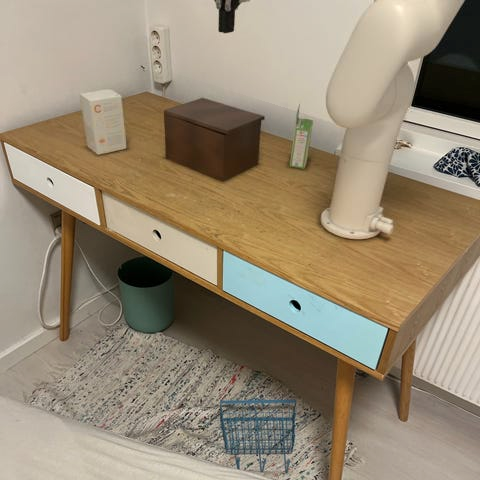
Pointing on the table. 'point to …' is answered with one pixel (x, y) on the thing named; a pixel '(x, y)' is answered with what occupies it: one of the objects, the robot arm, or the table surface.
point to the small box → (103, 121)
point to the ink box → (301, 142)
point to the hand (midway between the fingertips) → (226, 31)
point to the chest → (211, 148)
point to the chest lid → (214, 115)
